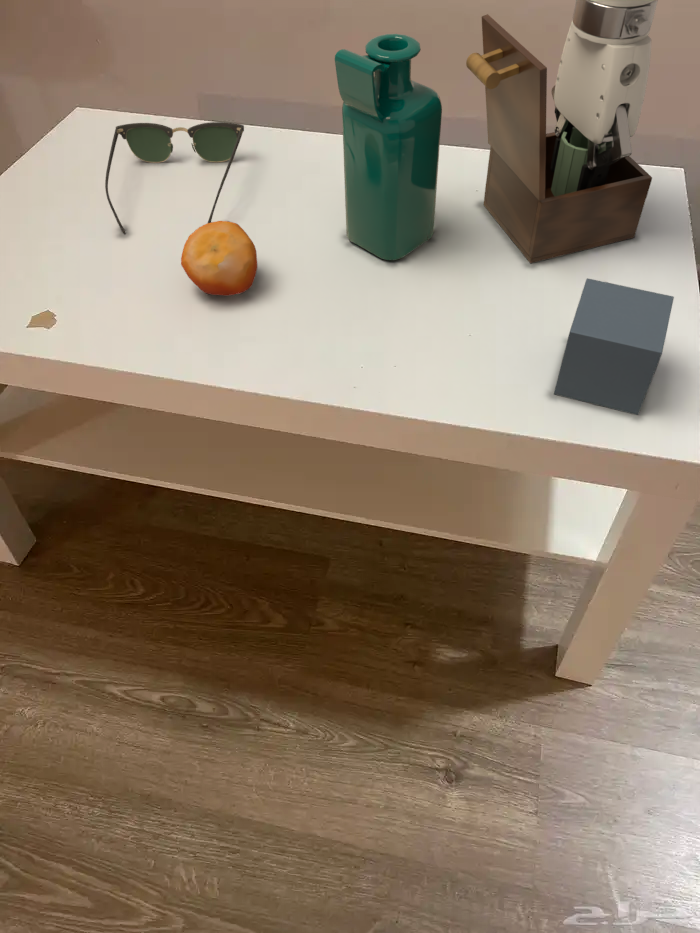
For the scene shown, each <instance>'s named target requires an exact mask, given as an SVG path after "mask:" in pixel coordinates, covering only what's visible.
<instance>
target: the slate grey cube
mask: <svg viewBox="0 0 700 933" xmlns="http://www.w3.org/2000/svg"><path fill="white" fill-rule="evenodd" d="M674 299H675V296H673V295H669V294H664V293H659V292H654V291H649V290H645V289H639V288H635V287H630V286H626V285H621V284H616V283H611V282H607V281H602V280H597V279H594V278H593V279H592V278H586V279H585V282H584V284H583V288H582V292H581V295H580V298H579V301H578V304H577V307H576V310H575V314H574V316H573V320H572V323H571V327H570V328H569V329H570V330H569V333H568V337H567V341H566V344H565V348H564V353H563V355H562V360H561V364H560V368H559V371H558V375H557V380H556V384H555V387H554V390H553V395H556V396H560V397H563V398H567V399H571V400H576V401H580V402H584V403H588V404H592V405H596V406H600V407H604V408H608V409H612V410H616V411H620V412H624V413H628V414H632V415H636V416H638V415H639V413H640V411H641V409H642V406H643V403H644V401H645V398H646V396H647V394H648V391H649V388H650V385H651V383H652V380H653V379H654V375H655V372H656V371H657V368H658V365H659V362H660V360H661V357H662V355H663V351H664V346H665V342H666V337H667V332H668V328H669V322H670V319H671V314H672V308H673V305H674V304H673V303H674Z"/></svg>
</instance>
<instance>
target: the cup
mask: <svg viewBox="0 0 700 933" xmlns="http://www.w3.org/2000/svg"><path fill="white" fill-rule="evenodd" d="M566 135H567V132H563V134H562V137H561V141H560V146H559V151H558V156H557V161H556V167H555V172H554V177H553V182H552V187H551V191H552V193H553V195H554V196H559V195H563V194H567V193H572V192H576V191H577V187H578V182H579V178H580V174H581V169H582V165H585V164H587V152H588V138H586V137H585V136H584V135H583V134H582V133H581V132H580V131H579V130H578V129H577V128H576V127H572V132H571V137H570V142H569V143H568V142H567V140H566ZM603 151H606V143H602V144H598V154H600V153H601V152H603Z"/></svg>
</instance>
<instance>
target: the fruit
mask: <svg viewBox="0 0 700 933" xmlns="http://www.w3.org/2000/svg"><path fill="white" fill-rule="evenodd" d="M180 265H181V267H182V268H183V271H184V272H185V274H186V275H187V278H188V279H189V280H190V281H191V282H192V283H193V284H194V285H195V286H197V287H198V289H199V290H200V291H202V292H203V293H205V294H207V295H212V296H226V297H227V296H234V295H235V296H236V295H239V294H244V293H245V292H247V291H248V290H249V289H250V288H252V286H253V284H254V281H255V278H256V275H257V272H258V271H257V270H258V255H257V249H256V246H255V244H254V242H253V240H252V239H251V238H250V236H249V235H248V234H247V232H246V231H245V230H244V229H243V228H242V227H241V225H240V224H238V223H237V222H234V221H227V220H217V221H211V223H208V222H207V223H205V224H202V225H201V226H199V227H197V228H196V229H195V230H194V231H193V232H192V233H190V234H189V235H188V236H187V239H186V240H185V243H184V246H183V248H182V253H181V258H180Z"/></svg>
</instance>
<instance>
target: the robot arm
mask: <svg viewBox="0 0 700 933" xmlns="http://www.w3.org/2000/svg"><path fill="white" fill-rule="evenodd" d="M658 1H659V0H575V1H574V2H575V3H574V8H573V13H572V19H571V23H570V25H569V29H568V32H567V35H566V38H565V41H564V45H563V49H562V52H561V53H562V54H561V56H560V62H559V65H558V69H557V75H556V80H555V84H554V85H553V87H552V88H551V97H552V100H553V104H554V114H555V119H556V124H555V126H554V131H553V132H555V135H556V137H559V138H556V141H555V146H554V151H553V157H552V162H551V167H550V169H551V171H552V172H555V167H556V161H557V156H558V151H559V146H560V141H561V137H562V134H563V132H567V135H566V140H567V142H568V143H569V142H570V137H571V132H572V127H576V128H577V129H578V130H579V131H580V132H581V133H582V134H583V135H584V136H585V137H586V138H588V152H587V164H585V165H582V169H581V174H580V178H579V182H578V187H577V191H580V190H585V189H589V188H593V187H597V186H602V185H605V183H606V179H607V175H608V172H609V168H610V165H613V164H614V163H615V162H616V161H618V160H620V159H622V158H625V157H628V156H630V157H631V156H632V153H633V148H632V141H631V138H632V137H634V136H635V134H636V132H637V129H638V126H639V123H640V122H639V121H640V118H641V113H642V109H643V105H644V102H645V101H644V100H645V95H646V92H647V91H646V90H647V86H648V80H649V73H650V66H651V65H650V64H651V58H652V57H651V56H652V38H651V37H650V35H649V34H650V32H651V28H652V24H653V20H654V16H655V13H656V9H657V5H658ZM602 143H606V151H603V152H601V153H600V154H598V144H602Z"/></svg>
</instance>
